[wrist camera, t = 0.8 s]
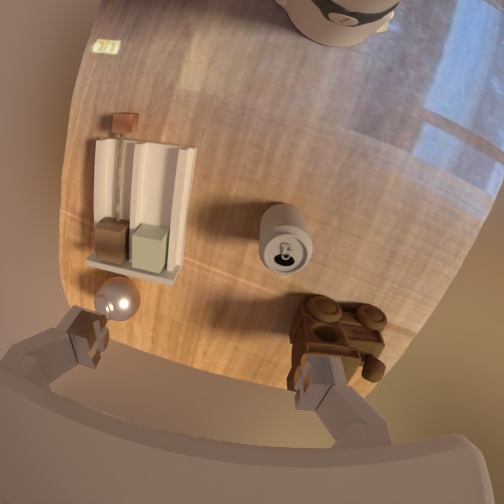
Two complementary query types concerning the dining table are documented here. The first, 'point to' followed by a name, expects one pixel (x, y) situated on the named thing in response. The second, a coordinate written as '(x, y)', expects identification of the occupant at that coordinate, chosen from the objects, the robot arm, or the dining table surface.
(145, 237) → the sage block
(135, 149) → the lane shelf
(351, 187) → the dining table surface
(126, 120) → the brown block pusher rod
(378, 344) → the wooden toy train
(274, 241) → the can
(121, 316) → the grey round lump
